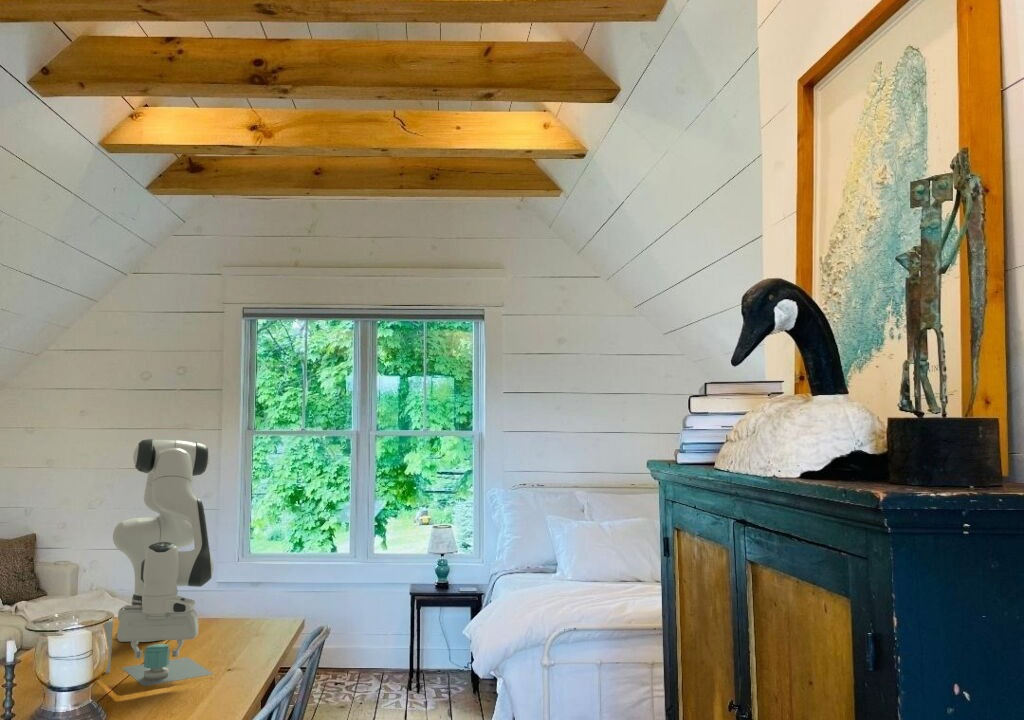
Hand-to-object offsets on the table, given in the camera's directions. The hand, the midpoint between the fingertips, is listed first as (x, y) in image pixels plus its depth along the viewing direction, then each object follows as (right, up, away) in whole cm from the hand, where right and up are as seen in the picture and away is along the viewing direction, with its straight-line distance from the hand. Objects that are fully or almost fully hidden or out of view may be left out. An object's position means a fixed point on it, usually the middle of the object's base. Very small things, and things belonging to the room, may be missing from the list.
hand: (157, 657), depth 217 cm
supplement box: (-20, -7, +5) cm, 22 cm away
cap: (0, -2, 0) cm, 2 cm away
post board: (+1, -7, +5) cm, 8 cm away
